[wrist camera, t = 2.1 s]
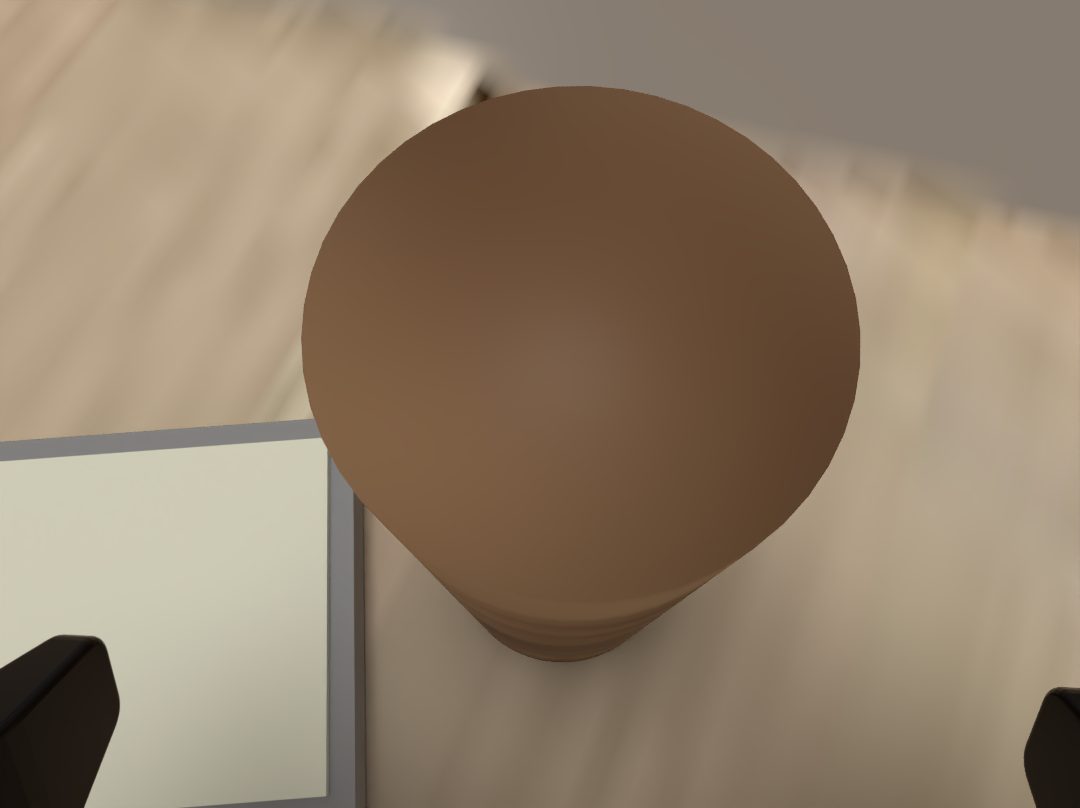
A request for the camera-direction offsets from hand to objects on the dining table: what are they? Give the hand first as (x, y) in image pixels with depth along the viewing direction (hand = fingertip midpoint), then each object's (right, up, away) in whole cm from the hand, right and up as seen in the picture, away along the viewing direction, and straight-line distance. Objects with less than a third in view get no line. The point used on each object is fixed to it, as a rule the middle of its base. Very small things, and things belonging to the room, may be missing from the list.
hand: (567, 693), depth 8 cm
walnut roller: (0, -1, +11) cm, 11 cm away
